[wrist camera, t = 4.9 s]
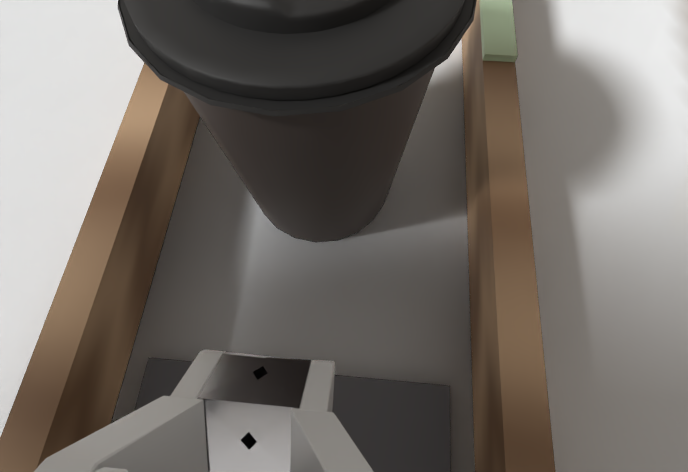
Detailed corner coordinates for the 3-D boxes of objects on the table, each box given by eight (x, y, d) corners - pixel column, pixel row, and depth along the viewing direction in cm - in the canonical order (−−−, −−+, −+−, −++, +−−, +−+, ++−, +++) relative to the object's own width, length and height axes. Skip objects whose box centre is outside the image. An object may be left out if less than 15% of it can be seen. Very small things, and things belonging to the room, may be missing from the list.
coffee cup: (237, 299, 16) (87, 110, 7) (211, 125, 19) (88, -155, 10) (450, 248, 17) (569, 16, 8) (389, 89, 20) (421, -202, 11)
